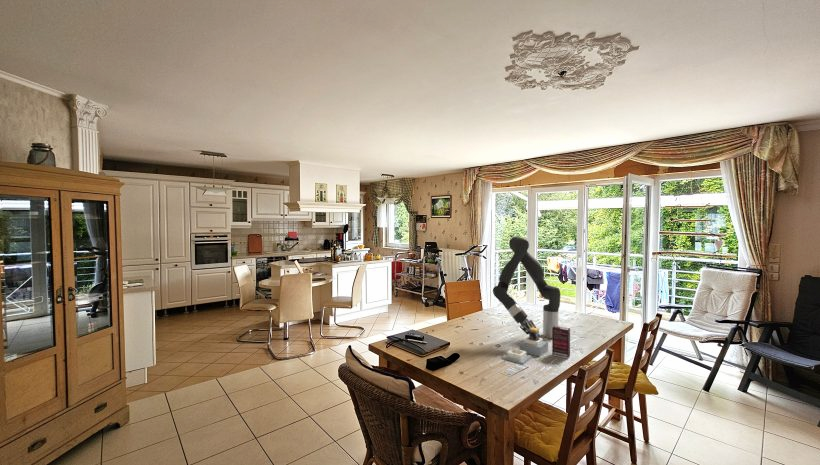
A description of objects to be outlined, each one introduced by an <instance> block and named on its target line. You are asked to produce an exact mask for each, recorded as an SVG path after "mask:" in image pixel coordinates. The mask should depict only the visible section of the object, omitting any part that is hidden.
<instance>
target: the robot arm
mask: <svg viewBox="0 0 820 465" xmlns="http://www.w3.org/2000/svg"><path fill="white" fill-rule="evenodd" d="M529 243H530V242H529V241H528V239H526V238H523V237H519V236H513V237H511V238H510V239H509V243H508V246H509V248H510V250H511V251H512V252H513V255H512V256H511V259H510V260H509V261H508V262H507V263H506V264H505V265H504V266H503V268H502V270H501V273H500V274H499V278H498V283H497V285H495V286H494V287H493V289H492V293H493V296H494V297H495V298H496V299H497V300H498V302H499V303H501V304H502V305H503V306H504V308H505V309H506V310H507V312H508V313H509V314H510V316H511V318H513V320H514V321H515V322H516V323H517V324H520V326H519V329H521V330H522V331H523V332H524V333H525V334H526V335H531V337H532V338H533V339H534V340H535V339H537V336H536V335H535V334H534V333H532V330H531V327H534V328H537V326H536V325H535V323H534V322H533V320H532V319H530V320H529V319H528V315H527V313H526V312H525V311H524V310H523V308H522V307H521V306H520V305H519V304H518V303H517V302H516V301H515V299H514V298H513V297H512V296H510V294H508V290H509V287H510V282H511V281H512V278H513V276H514V274H515V271H517V270H516V269H517V268H518V266H519V265H520V263H521V265H522V266H523V267H524V269H525V271H526V272H527V274H528V276H529V277H530V278H531V280H532V282H534V284H535V286H536V288H537V289H538V292H539V294H540V296H541V297H542V298H543V299H545V300H548V304H544V305H543V307H542V308H543V309H542V313H543V319H542V337H544V338H547V339H552V327H553V326H559V309H560V306H561V290H560V288H559V287H558V286H553V285H550V284H548V283H547V282H546V280H545V279H544V276H545V271H544V269H543V267H542V265H541V264H540V262H539V261H538V260H537V259H536V258H535V257H534V256H533V255H532V254H530V252H528V250H529V248H530V244H529ZM539 338H541V334H539Z"/></svg>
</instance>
